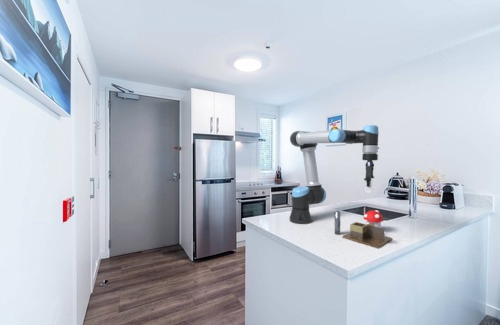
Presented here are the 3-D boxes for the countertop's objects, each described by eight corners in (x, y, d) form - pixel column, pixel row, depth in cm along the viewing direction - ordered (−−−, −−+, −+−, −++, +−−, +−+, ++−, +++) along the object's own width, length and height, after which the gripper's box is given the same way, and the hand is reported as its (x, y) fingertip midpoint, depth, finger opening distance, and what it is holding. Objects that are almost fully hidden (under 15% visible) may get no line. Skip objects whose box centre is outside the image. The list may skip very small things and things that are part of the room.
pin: (333, 233, 124) (333, 211, 124) (336, 232, 126) (336, 210, 126) (338, 235, 122) (338, 212, 122) (341, 233, 124) (341, 211, 124)
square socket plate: (342, 237, 118) (342, 224, 118) (358, 230, 129) (358, 218, 129) (377, 248, 104) (377, 233, 104) (392, 239, 115) (392, 225, 115)
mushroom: (373, 234, 124) (373, 213, 123) (359, 228, 134) (359, 209, 134) (388, 232, 126) (388, 212, 126) (372, 226, 137) (372, 207, 137)
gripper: (376, 153, 108) (375, 194, 108) (378, 153, 129) (377, 188, 129) (360, 153, 112) (359, 193, 113) (364, 153, 133) (363, 187, 133)
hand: (369, 190), depth 121 cm, fingers open, 13 cm apart
